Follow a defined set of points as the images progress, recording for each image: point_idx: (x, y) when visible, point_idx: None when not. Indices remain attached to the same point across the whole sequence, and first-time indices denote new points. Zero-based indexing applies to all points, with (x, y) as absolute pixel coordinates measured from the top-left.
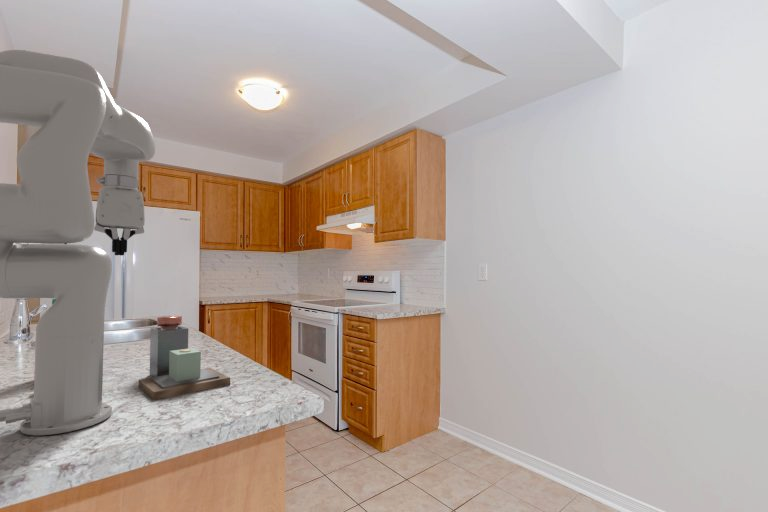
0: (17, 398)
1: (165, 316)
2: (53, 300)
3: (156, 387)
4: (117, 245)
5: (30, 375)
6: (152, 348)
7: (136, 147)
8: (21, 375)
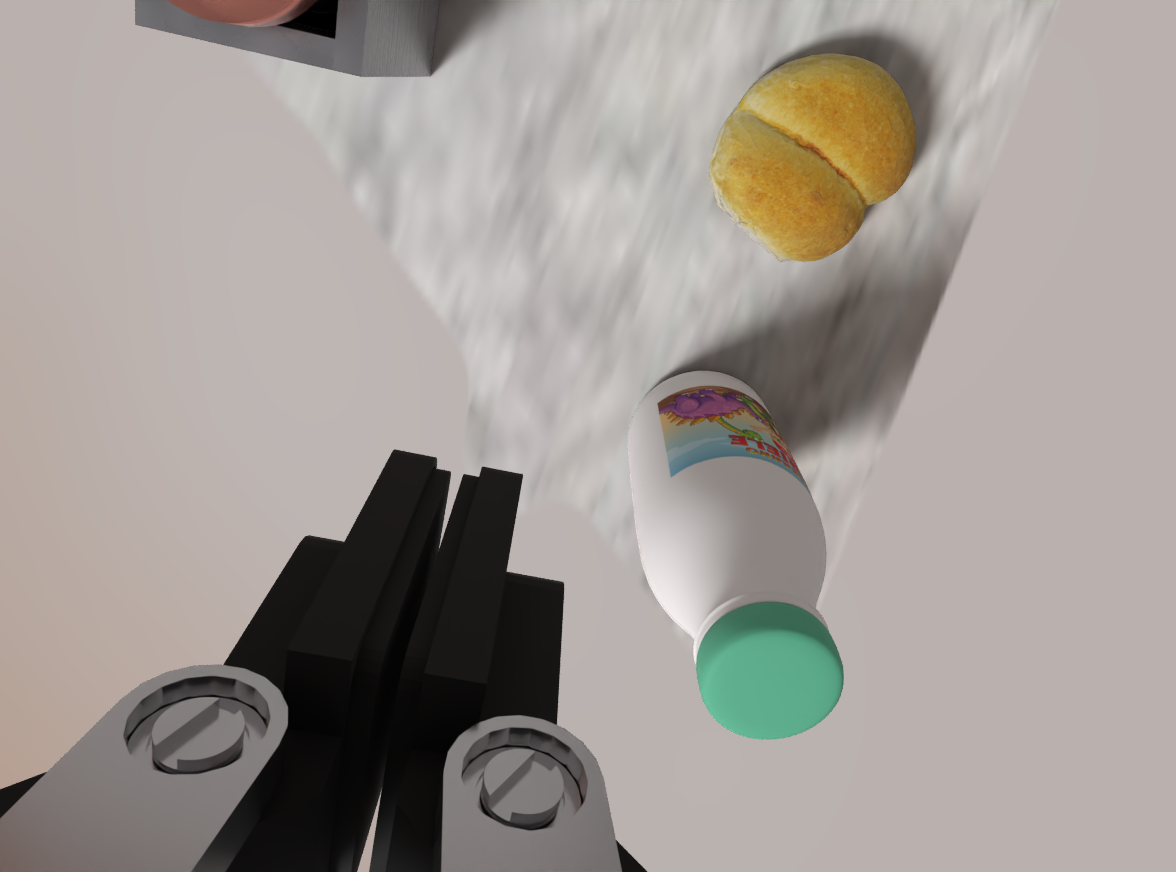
0: (958, 166)
1: (224, 6)
2: (842, 670)
3: None
4: (501, 568)
5: None
6: (403, 9)
7: None
8: None
